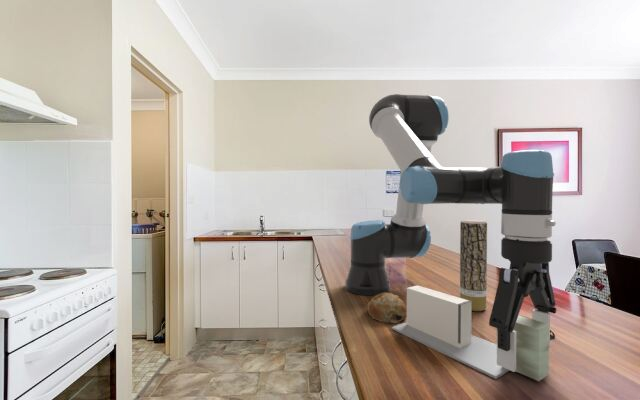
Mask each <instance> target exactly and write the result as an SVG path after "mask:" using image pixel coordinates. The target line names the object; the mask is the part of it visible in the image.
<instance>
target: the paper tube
mask: <svg viewBox="0 0 640 400" xmlns="http://www.w3.org/2000/svg"><path fill="white" fill-rule="evenodd" d="M459 227H460V228H459V229H460V234H459V236H460V237H459V238H460V239H459V241H460V242H459V243H460V244H459V245H460V246H459V251H460V252H459V254H460V255H459V298H462V299H465V300H470V301H472V310H471V312H483V311H485V310H486V309H487V285H488V283H487V281H488V280H487V279H488V277H487V275H488V274H487V273H488V272H487V270H488V269H487V268H488V265H487V263H488V221H487V220H481V219H462V220H461V219H460V225H459Z"/></svg>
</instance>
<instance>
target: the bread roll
mask: <svg viewBox="0 0 640 400" xmlns="http://www.w3.org/2000/svg"><path fill="white" fill-rule="evenodd" d="M367 310H368V311H367V312H368V314H369V316H370V317H371V319H373V320H376V321H378V322H381V323H385V324H387V323H388V324H393V325H394V324H397V323H400V322H402V321H404V320H405V319H406V320H407V304H405V302H404V301H403V300H402V299H401V298H400V296H399V295H397V294H394V293H391V292H388V293H386V292H385V293H380V294H378V295H374V297H372V298H371V300H370V301H369V302H368V303H367Z"/></svg>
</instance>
